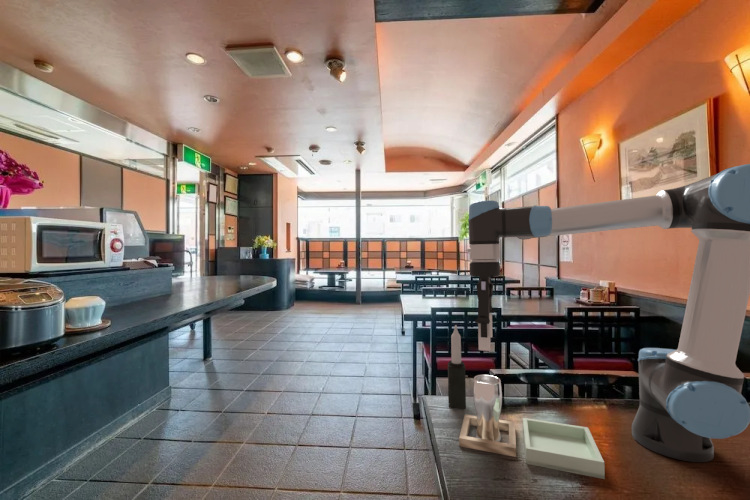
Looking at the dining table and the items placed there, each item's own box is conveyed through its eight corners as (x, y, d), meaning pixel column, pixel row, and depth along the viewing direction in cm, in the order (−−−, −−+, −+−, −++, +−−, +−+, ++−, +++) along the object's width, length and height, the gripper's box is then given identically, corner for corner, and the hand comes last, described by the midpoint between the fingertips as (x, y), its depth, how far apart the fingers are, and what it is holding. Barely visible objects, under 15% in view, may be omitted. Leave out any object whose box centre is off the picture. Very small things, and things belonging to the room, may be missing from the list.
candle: (466, 409, 102) (464, 327, 103) (449, 408, 103) (447, 326, 103) (464, 402, 107) (463, 323, 108) (448, 401, 108) (447, 323, 108)
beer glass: (504, 446, 83) (503, 385, 83) (475, 443, 84) (474, 383, 84) (500, 431, 89) (499, 375, 90) (473, 429, 91) (472, 373, 91)
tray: (588, 441, 84) (587, 427, 84) (604, 479, 70) (604, 462, 70) (523, 430, 90) (522, 417, 90) (526, 463, 76) (525, 448, 76)
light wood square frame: (514, 429, 90) (514, 422, 90) (516, 456, 78) (516, 448, 78) (465, 421, 95) (465, 414, 95) (459, 446, 83) (459, 438, 83)
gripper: (473, 260, 100) (475, 331, 100) (464, 262, 77) (465, 355, 77) (500, 259, 97) (501, 333, 97) (499, 262, 74) (501, 358, 74)
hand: (486, 343), depth 87 cm, fingers open, 13 cm apart
